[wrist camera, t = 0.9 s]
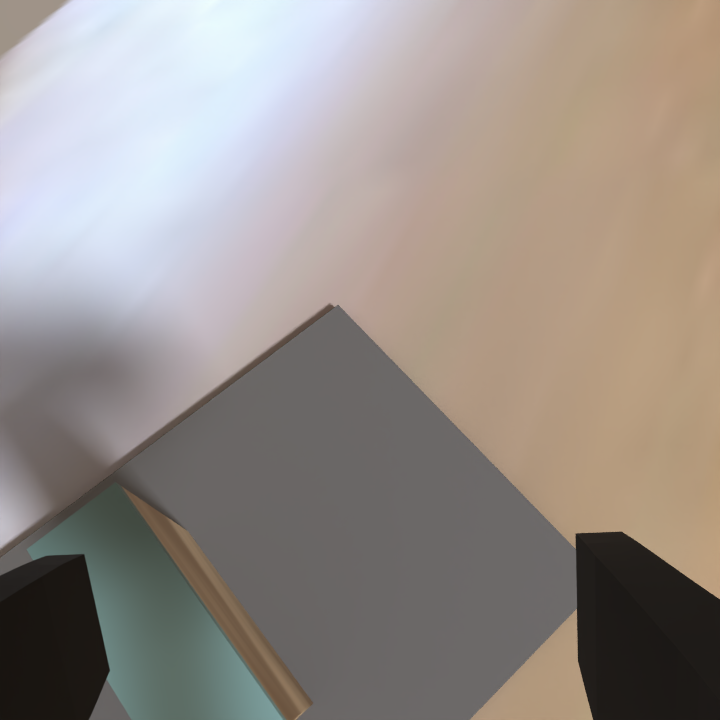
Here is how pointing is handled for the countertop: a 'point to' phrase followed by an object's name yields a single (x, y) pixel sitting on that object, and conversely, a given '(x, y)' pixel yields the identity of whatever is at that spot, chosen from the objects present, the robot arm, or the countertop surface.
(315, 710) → the mat
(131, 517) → the tile
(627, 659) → the robot arm
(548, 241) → the countertop surface
